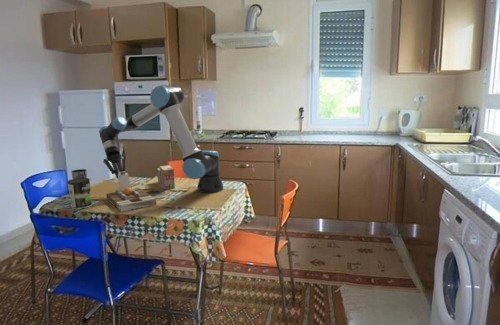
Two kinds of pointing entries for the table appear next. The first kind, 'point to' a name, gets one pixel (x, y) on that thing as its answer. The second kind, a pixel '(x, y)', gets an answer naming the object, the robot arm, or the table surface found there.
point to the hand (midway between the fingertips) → (122, 182)
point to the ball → (127, 191)
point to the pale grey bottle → (123, 181)
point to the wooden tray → (131, 199)
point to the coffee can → (80, 193)
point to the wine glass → (79, 173)
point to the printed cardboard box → (166, 177)
